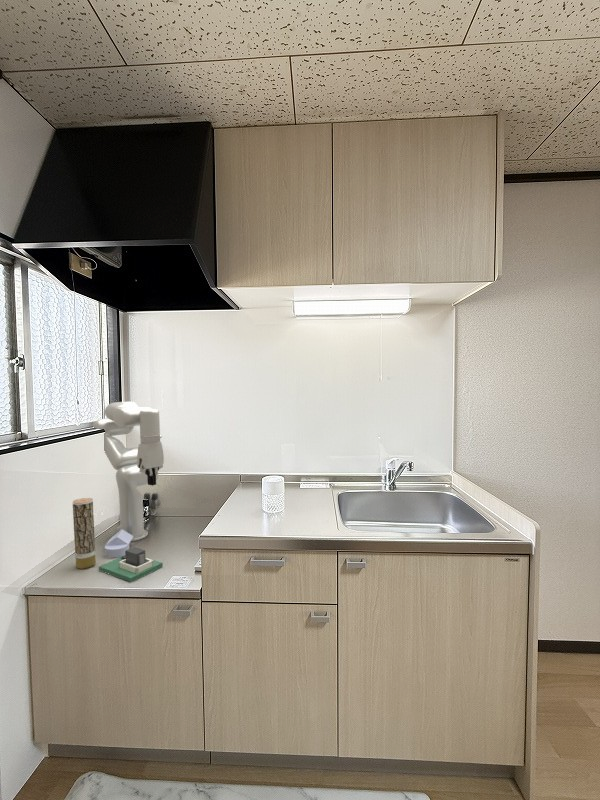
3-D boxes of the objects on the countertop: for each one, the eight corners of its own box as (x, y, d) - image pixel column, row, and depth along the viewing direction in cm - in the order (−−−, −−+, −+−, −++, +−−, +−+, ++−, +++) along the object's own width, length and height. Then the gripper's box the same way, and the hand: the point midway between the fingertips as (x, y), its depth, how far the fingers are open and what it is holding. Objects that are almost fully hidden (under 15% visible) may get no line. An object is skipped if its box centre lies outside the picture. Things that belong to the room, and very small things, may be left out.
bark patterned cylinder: (85, 570, 167) (82, 504, 165) (71, 567, 169) (68, 502, 167) (99, 563, 173) (96, 498, 171) (86, 560, 176) (82, 497, 174)
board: (99, 570, 167) (98, 561, 167) (131, 556, 179) (130, 547, 179) (131, 582, 157) (130, 572, 157) (162, 566, 169) (162, 557, 169)
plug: (126, 566, 166) (125, 550, 166) (135, 562, 170) (134, 546, 169) (138, 570, 163) (137, 554, 162) (147, 566, 166) (146, 550, 166)
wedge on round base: (111, 545, 190) (102, 558, 177) (110, 529, 190) (101, 541, 177) (133, 544, 191) (126, 557, 178) (133, 528, 191) (125, 540, 178)
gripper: (158, 436, 190) (160, 479, 191) (128, 441, 177) (130, 487, 178) (171, 437, 186) (172, 481, 187) (141, 443, 173) (143, 490, 174)
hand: (152, 484), depth 183 cm, fingers closed
